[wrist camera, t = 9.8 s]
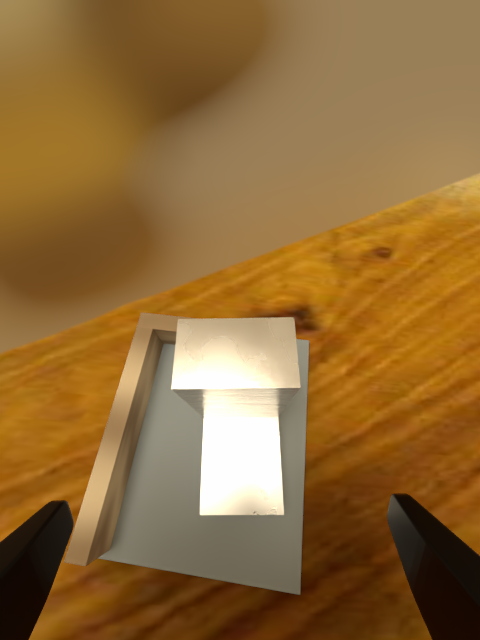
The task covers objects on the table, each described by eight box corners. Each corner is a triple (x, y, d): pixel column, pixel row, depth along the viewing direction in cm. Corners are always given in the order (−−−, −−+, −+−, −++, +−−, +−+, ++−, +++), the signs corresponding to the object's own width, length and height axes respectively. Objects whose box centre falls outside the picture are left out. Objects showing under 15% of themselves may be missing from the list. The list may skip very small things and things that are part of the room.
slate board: (298, 591, 17) (300, 594, 17) (92, 554, 18) (88, 556, 18) (307, 342, 24) (309, 340, 24) (156, 325, 25) (154, 323, 25)
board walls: (250, 571, 18) (250, 596, 15) (95, 544, 19) (63, 562, 15) (271, 344, 24) (274, 327, 21) (154, 330, 25) (141, 312, 22)
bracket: (280, 510, 19) (317, 569, 9) (203, 509, 19) (153, 569, 9) (273, 379, 22) (294, 317, 12) (208, 380, 22) (177, 319, 13)
